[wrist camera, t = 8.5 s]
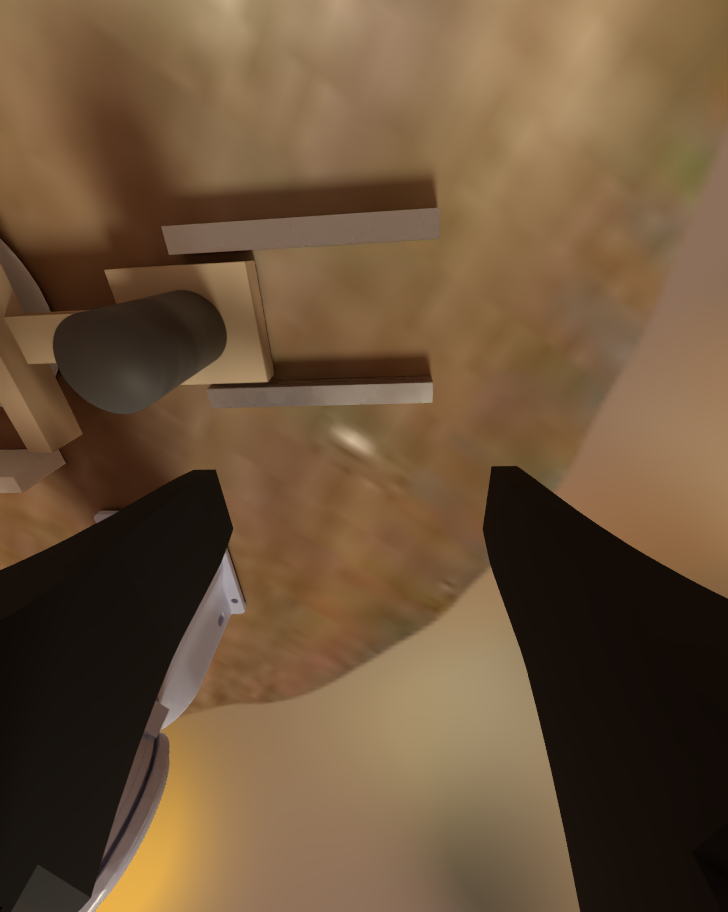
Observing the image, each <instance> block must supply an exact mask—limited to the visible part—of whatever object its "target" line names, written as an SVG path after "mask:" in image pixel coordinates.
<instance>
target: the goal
mask: <svg viewBox="0 0 728 912" xmlns="http://www.w3.org/2000/svg"><path fill="white" fill-rule="evenodd" d="M64 464H66V462H65V461H64V459H63V457H62V455H61V453H60V451H59V449H58V450H57V451H55V452H53V453H29V451H28V450H27V449H18V450H0V493H23V492H25V491H26V490H28V489H29V488H31V487H32V486H34V485H35V484H37V483H38V482H39V481H41V480H42V479H44V478H45V477H47V476H48V475H50V474H51V473H53V472H54V471H56V470H57V469H58V468H60V467H61V466H63V465H64Z"/></svg>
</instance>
